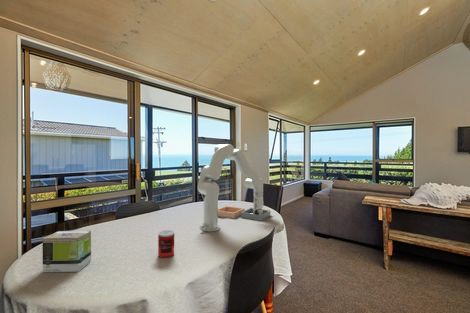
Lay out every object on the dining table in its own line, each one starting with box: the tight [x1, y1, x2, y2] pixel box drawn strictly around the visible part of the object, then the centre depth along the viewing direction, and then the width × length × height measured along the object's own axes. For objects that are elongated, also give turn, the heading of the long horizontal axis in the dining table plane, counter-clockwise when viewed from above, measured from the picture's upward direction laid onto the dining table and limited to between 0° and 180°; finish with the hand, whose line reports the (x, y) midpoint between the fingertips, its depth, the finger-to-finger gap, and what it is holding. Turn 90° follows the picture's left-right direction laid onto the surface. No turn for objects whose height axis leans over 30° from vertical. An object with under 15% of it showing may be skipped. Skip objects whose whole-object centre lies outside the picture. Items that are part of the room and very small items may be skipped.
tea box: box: [42, 230, 92, 273], centre depth 103 cm, size 15×10×15 cm, turn 92°
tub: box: [218, 205, 246, 219], centre depth 191 cm, size 18×18×5 cm
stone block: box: [253, 208, 264, 215], centre depth 184 cm, size 6×6×6 cm
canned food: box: [157, 229, 175, 259], centre depth 116 cm, size 8×8×11 cm
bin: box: [239, 207, 271, 222], centre depth 185 cm, size 18×18×5 cm
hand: (258, 216), depth 184 cm, fingers closed on stone block, 6 cm apart
